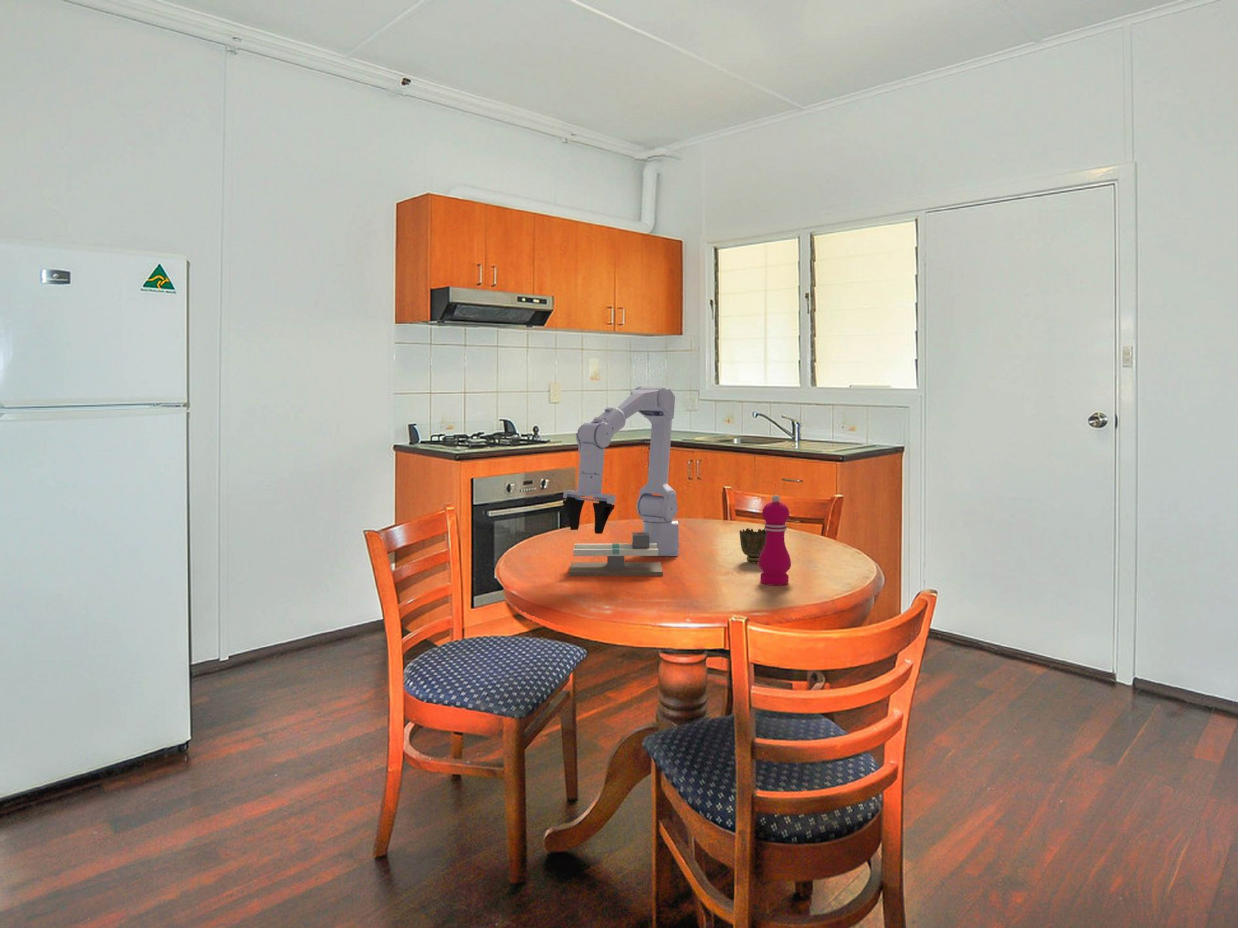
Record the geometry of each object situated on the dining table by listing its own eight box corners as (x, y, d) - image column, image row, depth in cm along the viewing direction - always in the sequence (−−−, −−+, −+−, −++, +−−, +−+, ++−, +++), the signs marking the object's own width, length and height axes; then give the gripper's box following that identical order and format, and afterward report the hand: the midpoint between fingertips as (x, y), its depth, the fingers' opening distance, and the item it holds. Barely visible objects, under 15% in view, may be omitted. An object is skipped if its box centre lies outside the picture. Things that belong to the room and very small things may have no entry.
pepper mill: (754, 578, 181) (756, 493, 179) (785, 577, 182) (787, 492, 180) (763, 586, 174) (764, 497, 172) (794, 585, 175) (796, 497, 173)
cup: (770, 559, 200) (771, 528, 199) (766, 566, 193) (767, 534, 192) (741, 557, 203) (742, 527, 202) (736, 563, 196) (737, 532, 195)
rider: (648, 548, 190) (648, 532, 190) (649, 552, 186) (649, 535, 186) (632, 548, 190) (632, 532, 190) (632, 552, 186) (632, 535, 186)
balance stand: (660, 565, 194) (660, 541, 193) (662, 575, 184) (662, 550, 183) (571, 566, 193) (570, 542, 193) (569, 576, 184) (568, 550, 183)
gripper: (556, 471, 185) (552, 528, 185) (603, 475, 176) (598, 535, 176) (576, 472, 191) (572, 527, 191) (622, 476, 182) (618, 534, 182)
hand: (586, 531), depth 184 cm, fingers open, 7 cm apart
